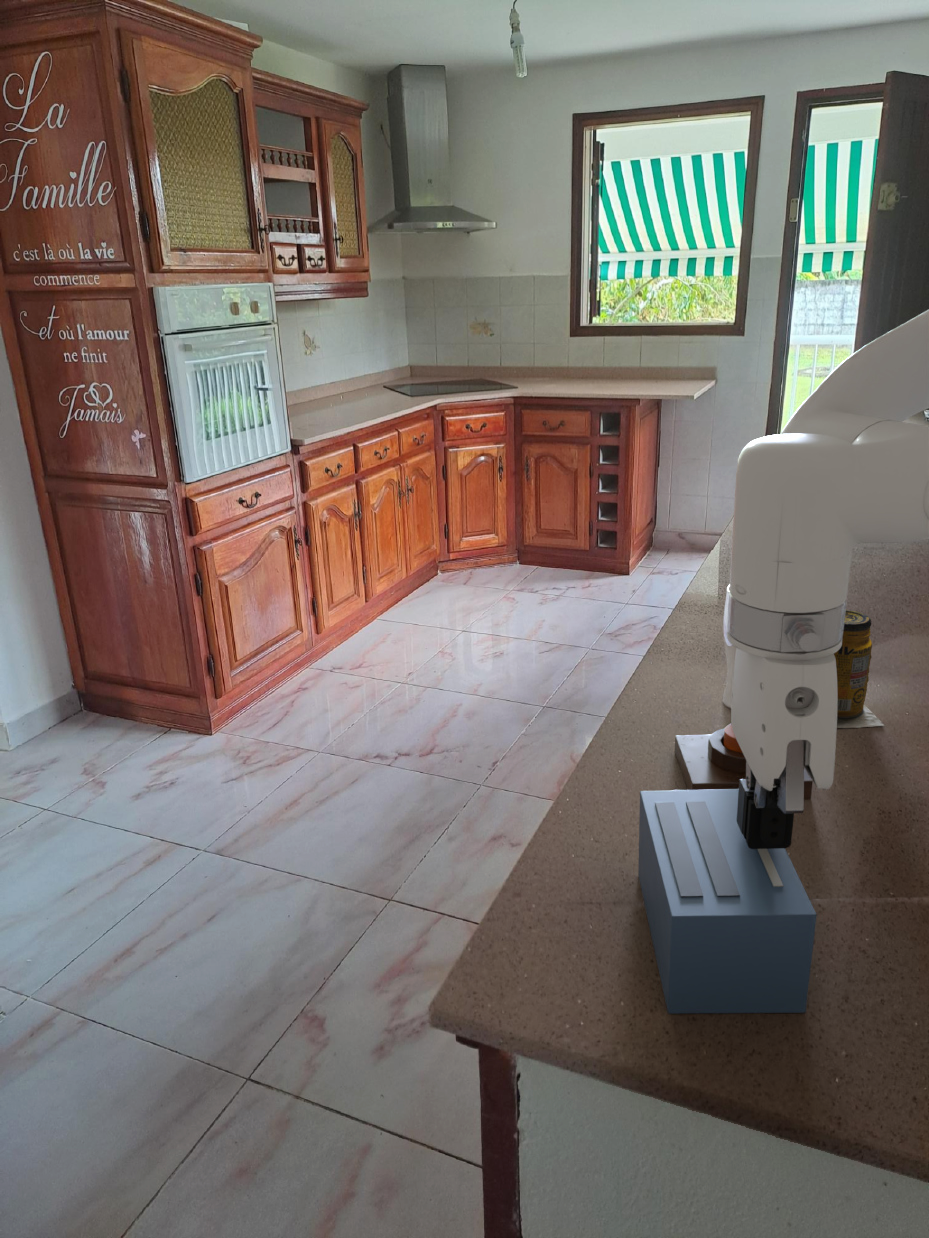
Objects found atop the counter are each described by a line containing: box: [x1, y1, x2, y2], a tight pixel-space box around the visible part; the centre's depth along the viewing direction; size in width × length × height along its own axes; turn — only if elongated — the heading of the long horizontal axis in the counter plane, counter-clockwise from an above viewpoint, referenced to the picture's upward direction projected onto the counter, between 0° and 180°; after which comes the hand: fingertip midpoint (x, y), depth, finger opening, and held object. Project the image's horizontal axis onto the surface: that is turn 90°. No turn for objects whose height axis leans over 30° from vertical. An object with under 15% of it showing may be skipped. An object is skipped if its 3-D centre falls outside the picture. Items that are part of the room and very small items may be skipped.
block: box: [674, 727, 814, 800], centre depth 94 cm, size 12×10×4 cm
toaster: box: [637, 789, 818, 1015], centre depth 71 cm, size 10×16×9 cm, turn 177°
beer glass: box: [721, 584, 736, 710], centre depth 107 cm, size 7×7×15 cm
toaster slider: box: [737, 779, 753, 834], centre depth 70 cm, size 2×2×4 cm
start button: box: [723, 723, 743, 753], centre depth 93 cm, size 4×4×2 cm
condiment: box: [834, 609, 885, 729], centre depth 104 cm, size 7×8×12 cm
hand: (766, 841), depth 67 cm, fingers closed
